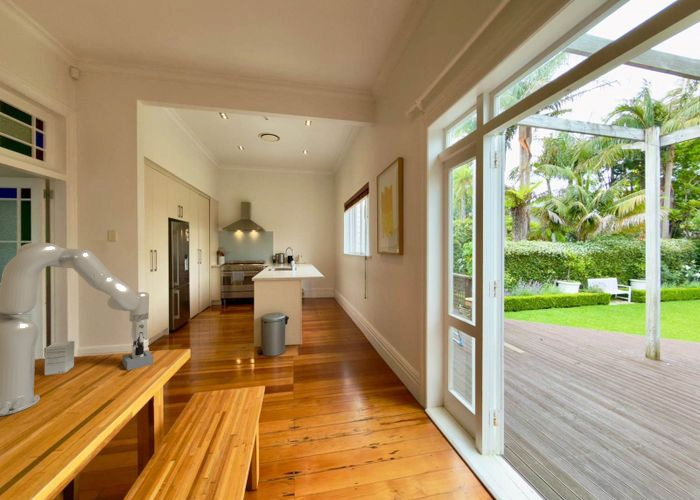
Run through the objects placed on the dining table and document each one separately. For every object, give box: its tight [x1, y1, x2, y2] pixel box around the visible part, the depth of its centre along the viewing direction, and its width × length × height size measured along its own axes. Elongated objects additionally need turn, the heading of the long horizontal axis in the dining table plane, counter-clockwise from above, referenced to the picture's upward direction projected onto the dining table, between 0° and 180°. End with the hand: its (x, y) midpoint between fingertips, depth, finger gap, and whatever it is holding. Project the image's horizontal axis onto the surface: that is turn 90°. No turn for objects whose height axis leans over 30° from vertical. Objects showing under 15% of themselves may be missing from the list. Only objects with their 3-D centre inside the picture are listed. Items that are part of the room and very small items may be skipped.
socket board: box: [121, 349, 154, 371], centre depth 132 cm, size 12×10×4 cm
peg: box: [131, 344, 144, 359], centre depth 132 cm, size 4×4×9 cm
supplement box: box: [44, 340, 75, 376], centre depth 122 cm, size 7×7×13 cm
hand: (138, 352), depth 132 cm, fingers open, 5 cm apart
